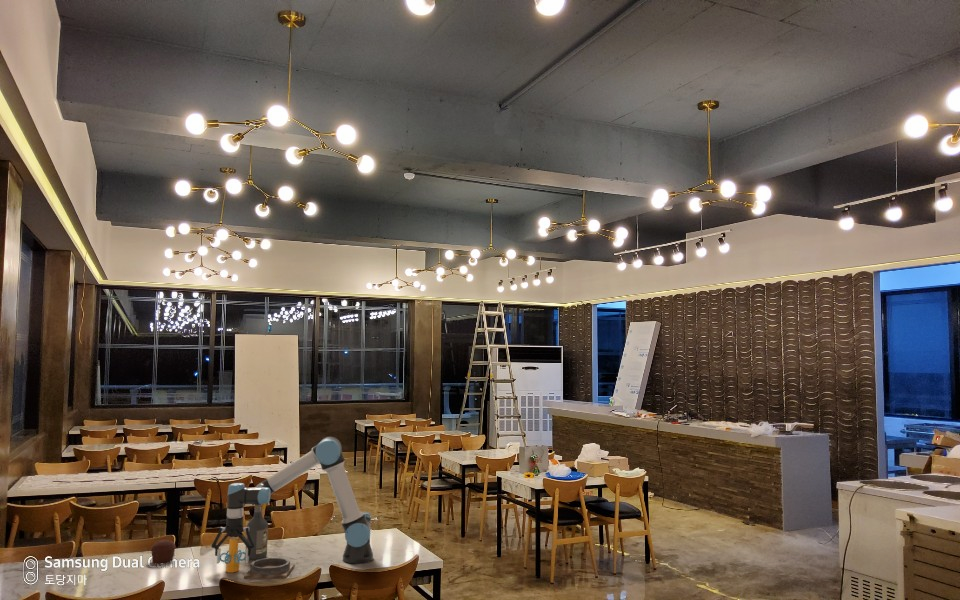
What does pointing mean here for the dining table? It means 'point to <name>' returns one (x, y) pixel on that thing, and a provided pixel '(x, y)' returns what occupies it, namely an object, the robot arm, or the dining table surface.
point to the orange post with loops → (233, 556)
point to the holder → (270, 568)
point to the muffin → (163, 551)
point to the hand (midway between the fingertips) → (232, 562)
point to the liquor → (258, 534)
